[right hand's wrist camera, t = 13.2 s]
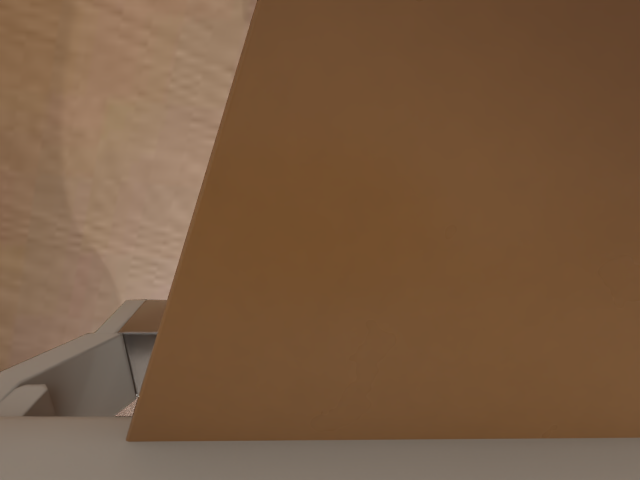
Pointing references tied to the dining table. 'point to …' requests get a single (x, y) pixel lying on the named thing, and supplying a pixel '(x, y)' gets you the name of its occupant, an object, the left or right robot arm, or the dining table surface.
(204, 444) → the right robot arm
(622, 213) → the box
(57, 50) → the dining table surface
